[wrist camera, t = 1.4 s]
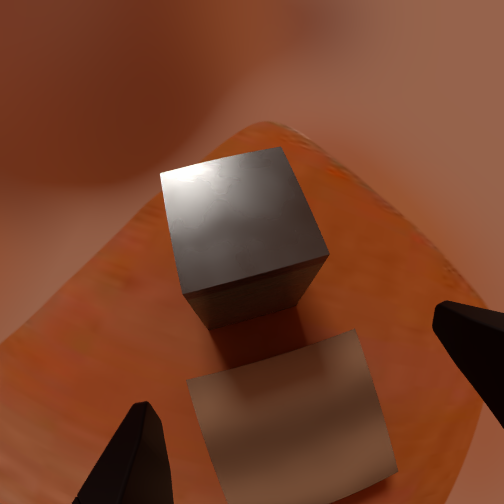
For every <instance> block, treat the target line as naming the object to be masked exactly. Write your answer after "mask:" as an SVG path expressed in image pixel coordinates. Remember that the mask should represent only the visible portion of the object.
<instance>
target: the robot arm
mask: <svg viewBox="0 0 504 504" xmlns="http://www.w3.org/2000/svg"><path fill="white" fill-rule="evenodd" d="M432 328H433V331H434V333H435V334H436V335H437V337H438V338H439V340H440V341H441V343H442V344H443V346H444V347H445V349H446V350H447V352H448V354H449V355H450V357H451V358H452V360H453V361H454V363H455V364H456V365H457V367H458V368H459V369H460V371H461V372H462V373H463V374H464V376H465V377H466V378H467V379H468V381H469V382H470V383H471V385H472V386H473V387H474V389H475V390H476V391H477V392H478V394H479V395H480V396H481V398H482V399H483V401H484V402H485V403H486V404H487V406H488V407H489V409H490V410H491V411H492V413H493V414H494V416H495V417H496V418H497V420H498V421H499V423H500V424H501V426H502V427H503V428H504V313H501V312H496V311H492V310H487V309H483V308H479V307H474V306H470V305H465V304H461V303H456V302H452V301H443V302H441V303H439V304H437V305H436V307H435V312H434V317H433V323H432ZM77 496H78V497H75V499H74V501H73V502H72V504H174V502H173V492H172V481H171V471H170V465H169V460H168V455H167V450H166V445H165V439H164V433H163V427H162V423H161V420H160V418H159V417H158V415H157V414H156V412H155V411H154V409H153V408H152V406H151V404H150V403H149V402H147V401H145V402H139V403H135V404H133V405H132V407H131V408H130V410H129V412H128V413H127V415H126V416H125V418H124V420H123V421H122V423H121V424H120V426H119V427H118V429H117V431H116V432H115V434H114V435H113V437H112V439H111V440H110V442H109V444H108V445H107V447H106V448H105V450H104V452H103V453H102V455H101V456H100V458H99V460H98V461H97V463H96V465H95V466H94V468H93V469H92V471H91V473H90V474H89V476H88V478H87V479H86V481H85V483H84V484H83V486H82V487H81V489H80V491H79V492H78V494H77Z"/></svg>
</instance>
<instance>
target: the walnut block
mask: <svg viewBox="0 0 504 504" xmlns="http://www.w3.org/2000/svg"><path fill="white" fill-rule="evenodd" d="M186 381H187V385H188V388H189V392H190V395H191V399H192V402H193V405H194V409H195V412H196V415H197V419H198V422H199V425H200V428H201V431H202V434H203V437H204V440H205V443H206V446H207V449H208V452H209V455H210V458H211V461H212V463H213V466H214V469H215V472H216V474H217V477H218V480H219V482H220V485H221V487H222V490H223V492H224V495H225V497H226V500H227V502H228V504H329V503H332V502H335V501H337V500H340V499H342V498H344V497H347V496H349V495H352V494H354V493H356V492H358V491H361V490H363V489H365V488H367V487H369V486H371V485H373V484H375V483H377V482H379V481H381V480H383V479H385V478H387V477H389V476H391V475H393V474H395V473H396V472H398V469H397V465H396V461H395V457H394V453H393V449H392V445H391V442H390V438H389V434H388V431H387V427H386V424H385V420H384V417H383V413H382V410H381V406H380V403H379V400H378V397H377V393H376V390H375V387H374V384H373V381H372V378H371V374H370V371H369V368H368V365H367V362H366V359H365V356H364V353H363V350H362V348H361V345H360V342H359V339H358V336H357V333H356V330H355V329H353V330H350V331H348V332H345V333H342V334H340V335H337V336H334V337H331V338H329V339H326V340H323V341H320V342H317V343H315V344H312V345H309V346H306V347H303V348H300V349H297V350H294V351H291V352H288V353H284V354H281V355H278V356H275V357H272V358H268V359H265V360H261V361H258V362H255V363H251V364H248V365H244V366H240V367H237V368H233V369H229V370H225V371H222V372H218V373H214V374H210V375H205V376H201V377H197V378H193V379H188V380H186Z"/></svg>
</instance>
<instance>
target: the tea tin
mask: <svg viewBox="0 0 504 504" xmlns="http://www.w3.org/2000/svg"><path fill="white" fill-rule="evenodd" d="M160 176H161V183H162V189H163V196H164V202H165V208H166V214H167V219H168V225H169V230H170V236H171V241H172V246H173V251H174V256H175V261H176V266H177V271H178V276H179V280H180V285H181V289H182V294H183V296H184V297H185V298H186V300H187V301H188V303H189V304H190V306H191V307H192V308H193V310H194V311H195V313H196V314H197V315H198V317H199V318H200V319H201V321H202V322H203V324H204V325H205V326H206V328H207V329H208V330H211V329H215V328H219V327H223V326H226V325H230V324H234V323H237V322H241V321H245V320H248V319H252V318H255V317H259V316H262V315H266V314H269V313H273V312H276V311H279V310H283V309H286V308H289V307H292V306H296V305H297V303H298V302H299V300H300V299H301V297H302V296H303V294H304V293H305V291H306V290H307V288H308V287H309V285H310V284H311V282H312V281H313V279H314V278H315V276H316V275H317V273H318V271H319V270H320V268H321V267H322V265H323V264H324V262H325V261H326V259H327V258H328V256H329V251H328V249H327V247H326V244H325V242H324V239H323V237H322V235H321V232H320V230H319V228H318V225H317V223H316V221H315V219H314V216H313V214H312V212H311V210H310V207H309V205H308V203H307V201H306V198H305V196H304V194H303V192H302V190H301V187H300V185H299V183H298V181H297V179H296V177H295V175H294V173H293V170H292V168H291V166H290V164H289V162H288V160H287V158H286V156H285V154H284V152H283V150H282V148H281V147H276V148H271V149H265V150H260V151H255V152H249V153H244V154H240V155H235V156H230V157H225V158H221V159H216V160H212V161H208V162H203V163H199V164H195V165H191V166H187V167H183V168H179V169H175V170H172V171H168V172H165V173H161V174H160Z"/></svg>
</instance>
